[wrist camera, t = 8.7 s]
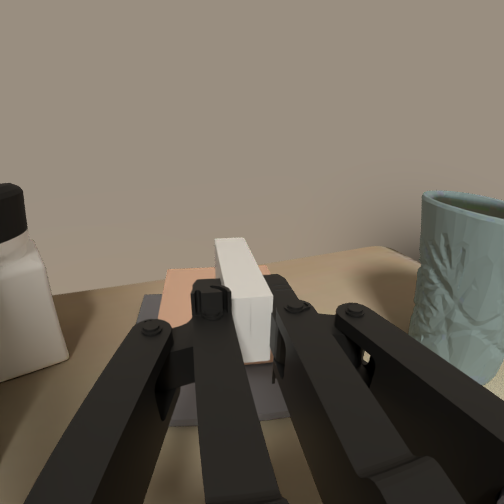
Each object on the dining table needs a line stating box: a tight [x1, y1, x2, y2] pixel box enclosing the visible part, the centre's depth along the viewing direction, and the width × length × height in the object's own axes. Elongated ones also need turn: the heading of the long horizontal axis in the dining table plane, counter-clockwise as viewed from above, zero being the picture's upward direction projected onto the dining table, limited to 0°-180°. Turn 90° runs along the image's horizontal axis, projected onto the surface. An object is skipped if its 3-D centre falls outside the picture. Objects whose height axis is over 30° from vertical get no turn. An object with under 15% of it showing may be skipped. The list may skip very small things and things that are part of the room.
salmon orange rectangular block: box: [158, 265, 273, 365], centre depth 25 cm, size 9×3×11 cm
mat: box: [136, 294, 290, 426], centre depth 23 cm, size 14×16×1 cm
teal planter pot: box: [408, 191, 504, 385], centre depth 19 cm, size 10×10×12 cm
